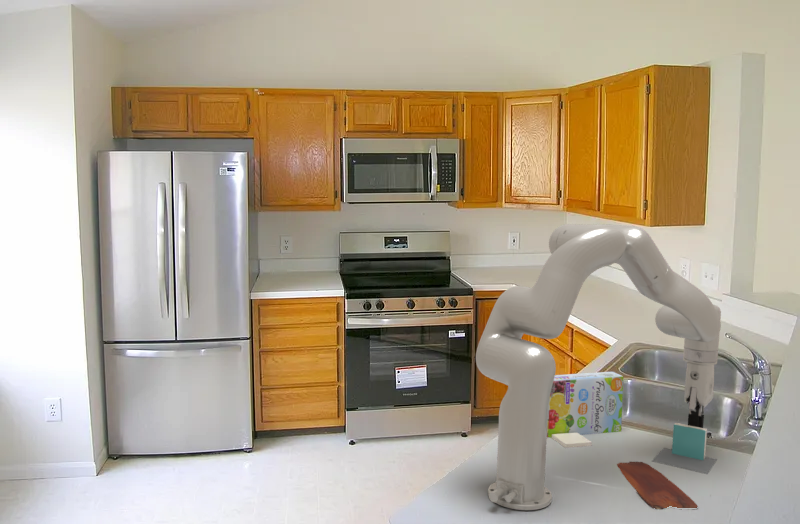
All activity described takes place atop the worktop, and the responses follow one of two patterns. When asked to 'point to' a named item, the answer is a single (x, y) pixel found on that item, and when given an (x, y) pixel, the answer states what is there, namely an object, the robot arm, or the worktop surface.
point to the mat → (684, 461)
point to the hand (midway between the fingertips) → (695, 430)
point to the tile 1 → (571, 440)
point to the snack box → (585, 403)
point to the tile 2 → (689, 441)
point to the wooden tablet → (655, 486)
